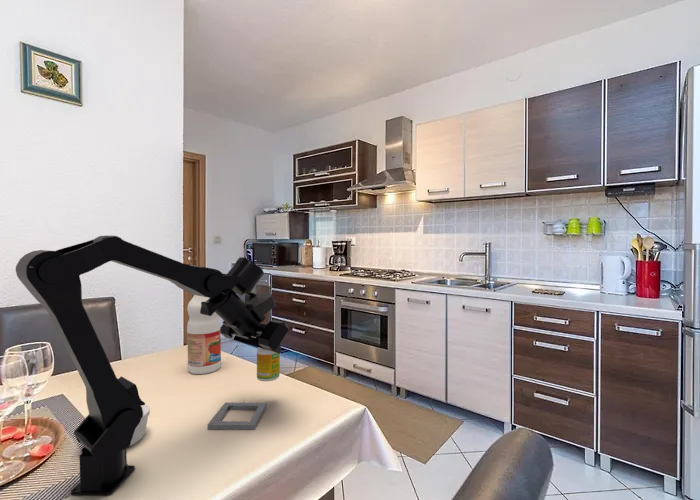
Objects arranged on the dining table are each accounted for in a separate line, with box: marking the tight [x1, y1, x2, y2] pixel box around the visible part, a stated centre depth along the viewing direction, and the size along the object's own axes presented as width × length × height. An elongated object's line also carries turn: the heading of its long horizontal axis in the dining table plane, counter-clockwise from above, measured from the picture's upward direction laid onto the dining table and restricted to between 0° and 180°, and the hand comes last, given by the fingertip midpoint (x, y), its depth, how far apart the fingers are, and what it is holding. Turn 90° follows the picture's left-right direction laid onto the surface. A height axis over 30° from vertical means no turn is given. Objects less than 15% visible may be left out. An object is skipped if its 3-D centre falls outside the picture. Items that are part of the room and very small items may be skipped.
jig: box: [206, 402, 268, 431], centre depth 79 cm, size 10×10×1 cm
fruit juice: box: [186, 295, 222, 375], centre depth 108 cm, size 9×9×28 cm
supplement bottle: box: [256, 347, 281, 382], centre depth 85 cm, size 5×5×10 cm
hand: (272, 349), depth 86 cm, fingers closed on supplement bottle, 5 cm apart
